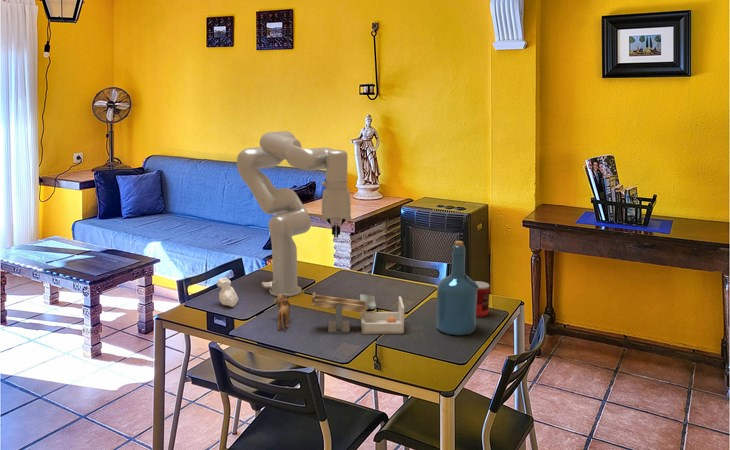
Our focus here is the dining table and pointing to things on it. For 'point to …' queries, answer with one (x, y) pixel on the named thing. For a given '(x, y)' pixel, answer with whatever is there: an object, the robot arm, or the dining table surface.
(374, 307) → the lever
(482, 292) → the canned food
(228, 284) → the duck figurine
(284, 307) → the lion figurine
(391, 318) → the ball
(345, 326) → the fulcrum
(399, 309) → the bin
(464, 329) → the wine bottle
